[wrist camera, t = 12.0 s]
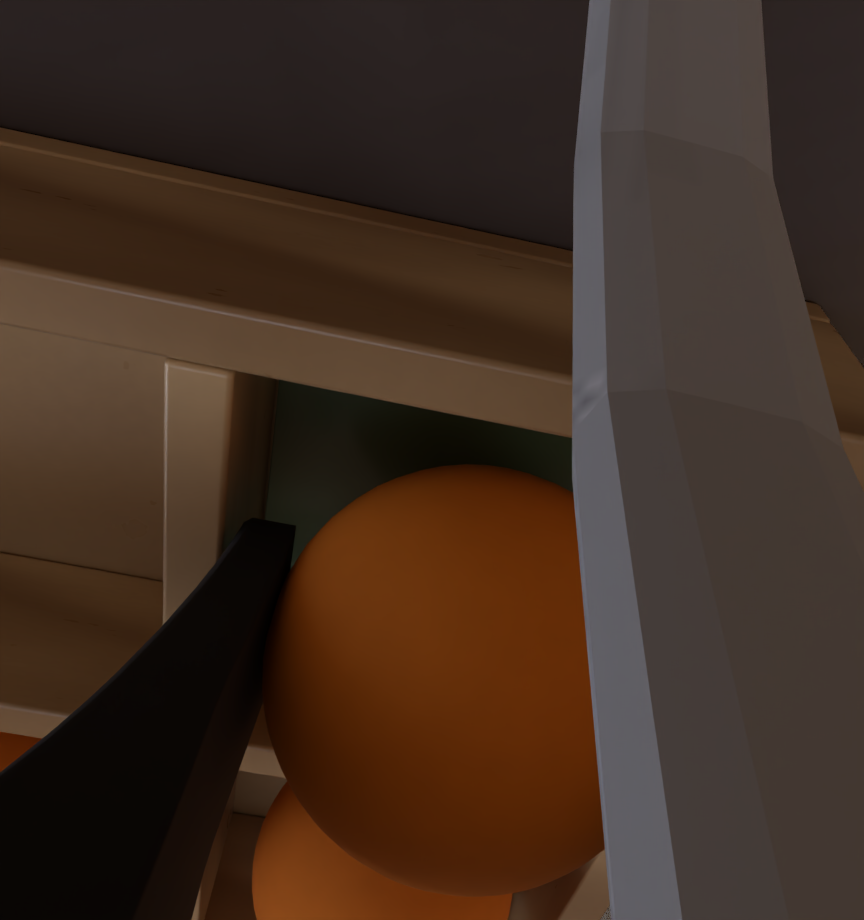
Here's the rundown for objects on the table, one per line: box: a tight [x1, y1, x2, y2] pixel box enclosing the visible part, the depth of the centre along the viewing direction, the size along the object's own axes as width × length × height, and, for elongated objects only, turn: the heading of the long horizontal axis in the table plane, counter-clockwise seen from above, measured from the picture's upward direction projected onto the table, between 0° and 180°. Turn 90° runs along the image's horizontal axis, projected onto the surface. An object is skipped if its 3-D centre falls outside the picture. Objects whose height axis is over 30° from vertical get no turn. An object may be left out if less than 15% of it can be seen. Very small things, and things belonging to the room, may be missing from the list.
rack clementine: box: [252, 782, 513, 920], centre depth 17 cm, size 5×5×5 cm
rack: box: [0, 128, 864, 920], centre depth 15 cm, size 16×16×4 cm
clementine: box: [262, 464, 605, 897], centre depth 11 cm, size 5×5×5 cm
